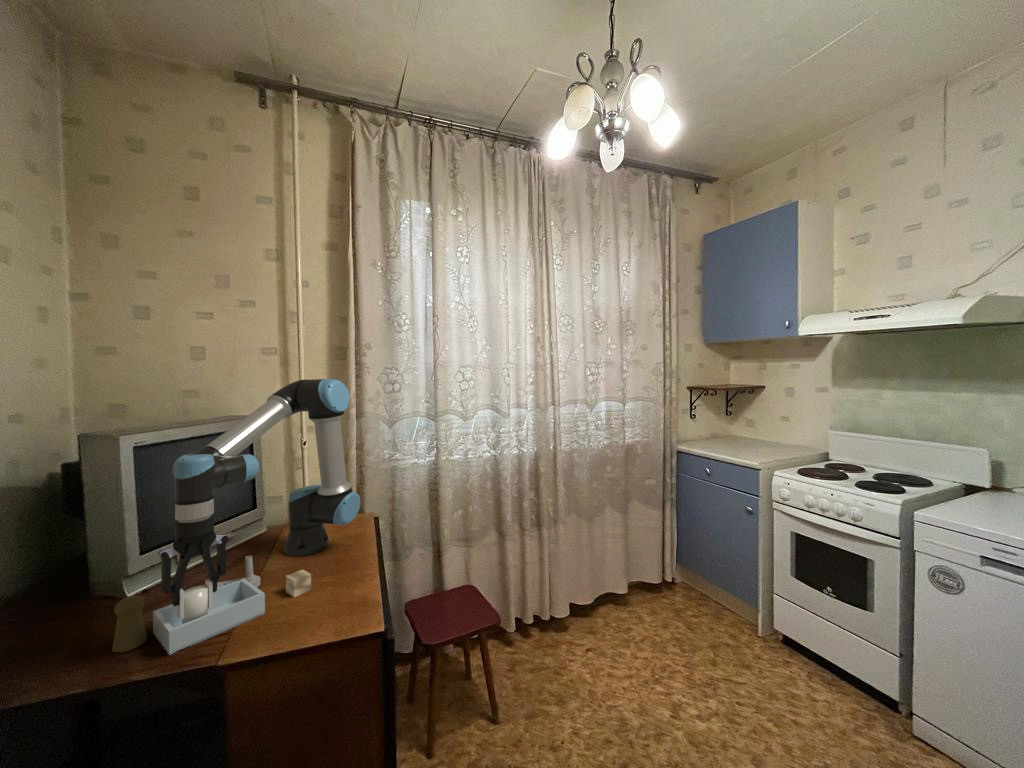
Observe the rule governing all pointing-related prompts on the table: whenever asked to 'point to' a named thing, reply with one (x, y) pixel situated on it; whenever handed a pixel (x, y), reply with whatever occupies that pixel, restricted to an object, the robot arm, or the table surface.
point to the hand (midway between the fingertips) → (195, 611)
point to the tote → (209, 616)
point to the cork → (129, 624)
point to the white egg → (195, 603)
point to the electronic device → (249, 575)
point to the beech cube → (298, 583)
